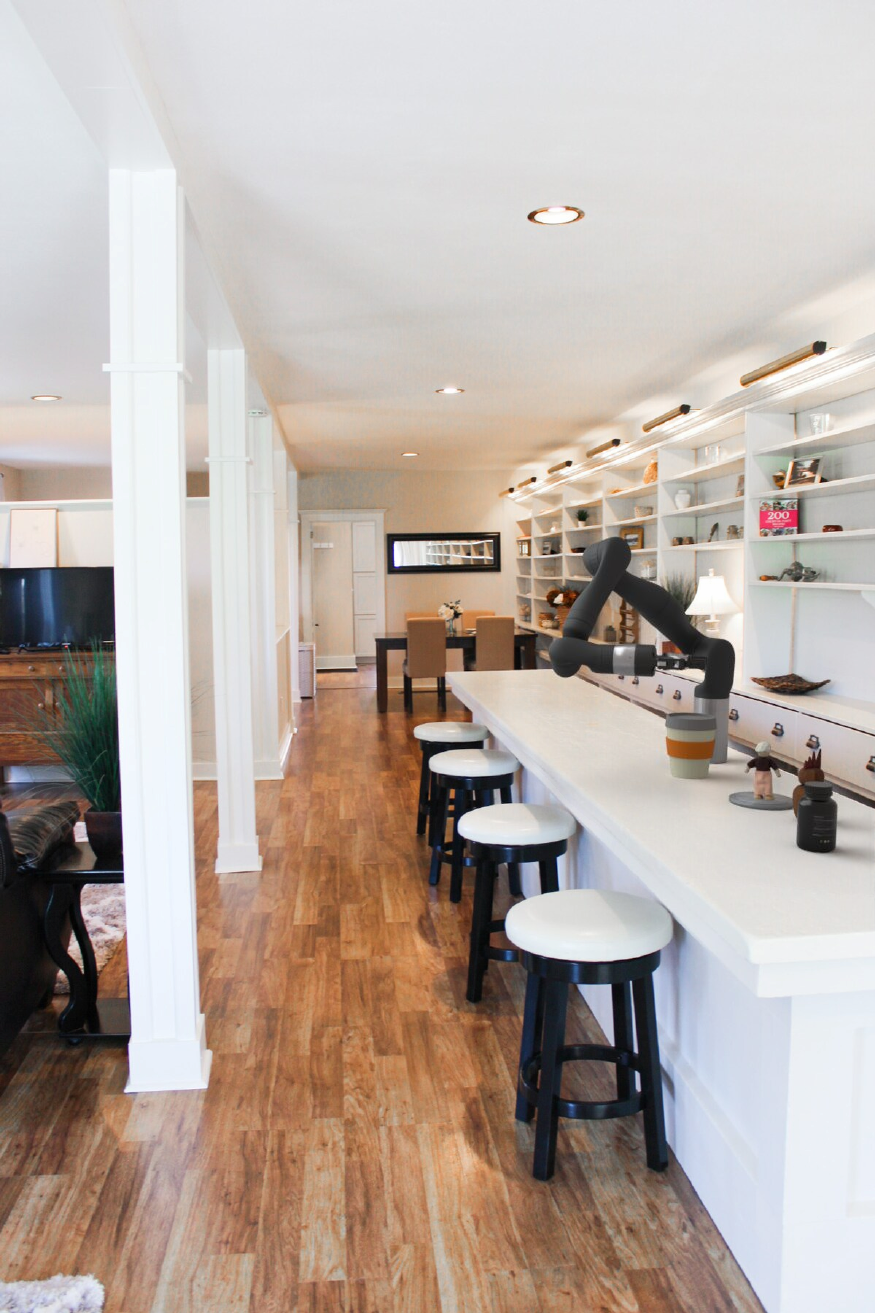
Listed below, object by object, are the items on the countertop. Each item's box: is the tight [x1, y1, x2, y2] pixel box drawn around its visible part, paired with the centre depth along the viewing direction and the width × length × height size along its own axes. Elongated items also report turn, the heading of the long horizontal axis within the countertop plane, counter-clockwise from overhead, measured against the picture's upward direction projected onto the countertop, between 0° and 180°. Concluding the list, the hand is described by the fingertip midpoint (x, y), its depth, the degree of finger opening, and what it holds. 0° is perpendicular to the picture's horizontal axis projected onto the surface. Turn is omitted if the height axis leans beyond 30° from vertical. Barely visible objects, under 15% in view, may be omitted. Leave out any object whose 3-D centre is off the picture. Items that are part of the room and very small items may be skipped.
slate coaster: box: [728, 791, 793, 811], centre depth 208 cm, size 14×14×1 cm
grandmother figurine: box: [743, 740, 782, 800], centre depth 207 cm, size 8×4×13 cm, turn 73°
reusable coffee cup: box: [664, 711, 717, 780], centre depth 235 cm, size 13×13×15 cm
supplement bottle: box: [795, 781, 839, 854], centre depth 172 cm, size 7×7×12 cm
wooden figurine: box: [791, 748, 826, 819], centre depth 191 cm, size 7×6×15 cm
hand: (706, 662), depth 215 cm, fingers open, 8 cm apart
